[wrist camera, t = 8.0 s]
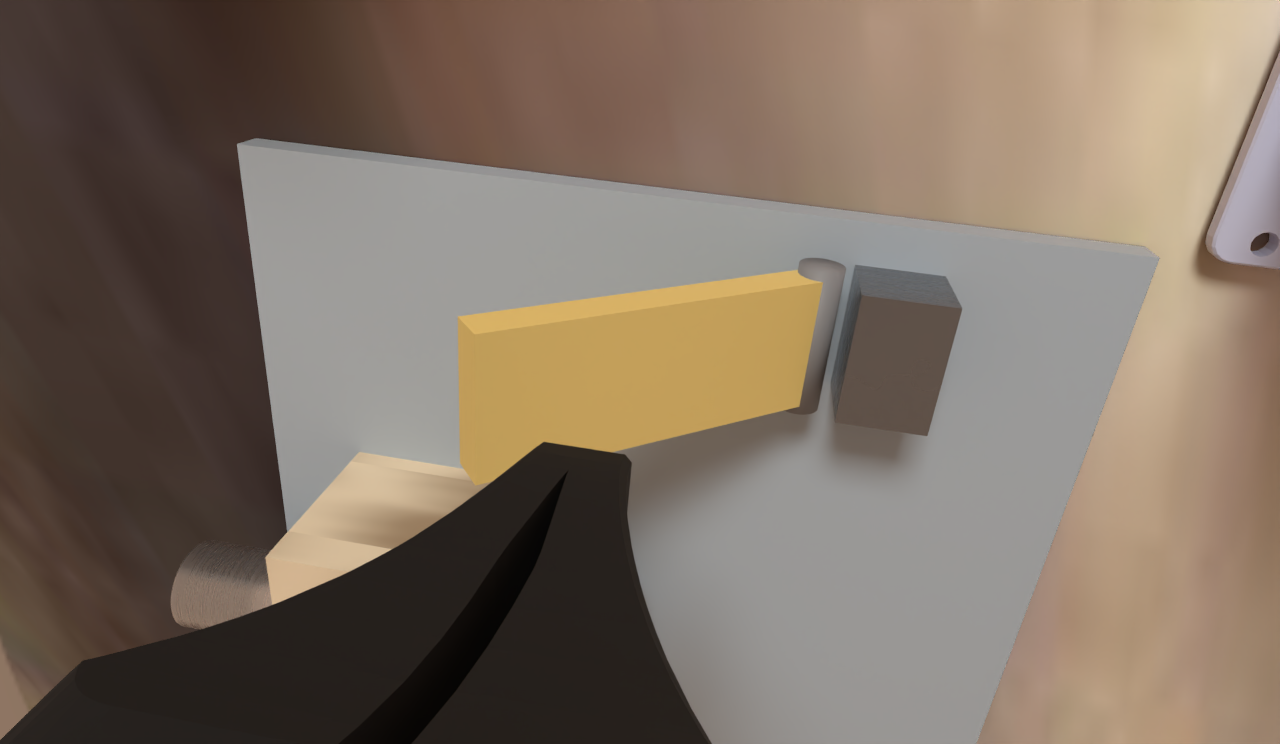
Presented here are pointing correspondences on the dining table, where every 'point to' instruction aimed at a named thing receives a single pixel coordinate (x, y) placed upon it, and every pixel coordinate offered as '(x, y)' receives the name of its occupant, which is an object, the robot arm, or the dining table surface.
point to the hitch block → (363, 519)
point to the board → (729, 454)
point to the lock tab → (643, 364)
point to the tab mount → (893, 349)
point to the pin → (220, 584)
